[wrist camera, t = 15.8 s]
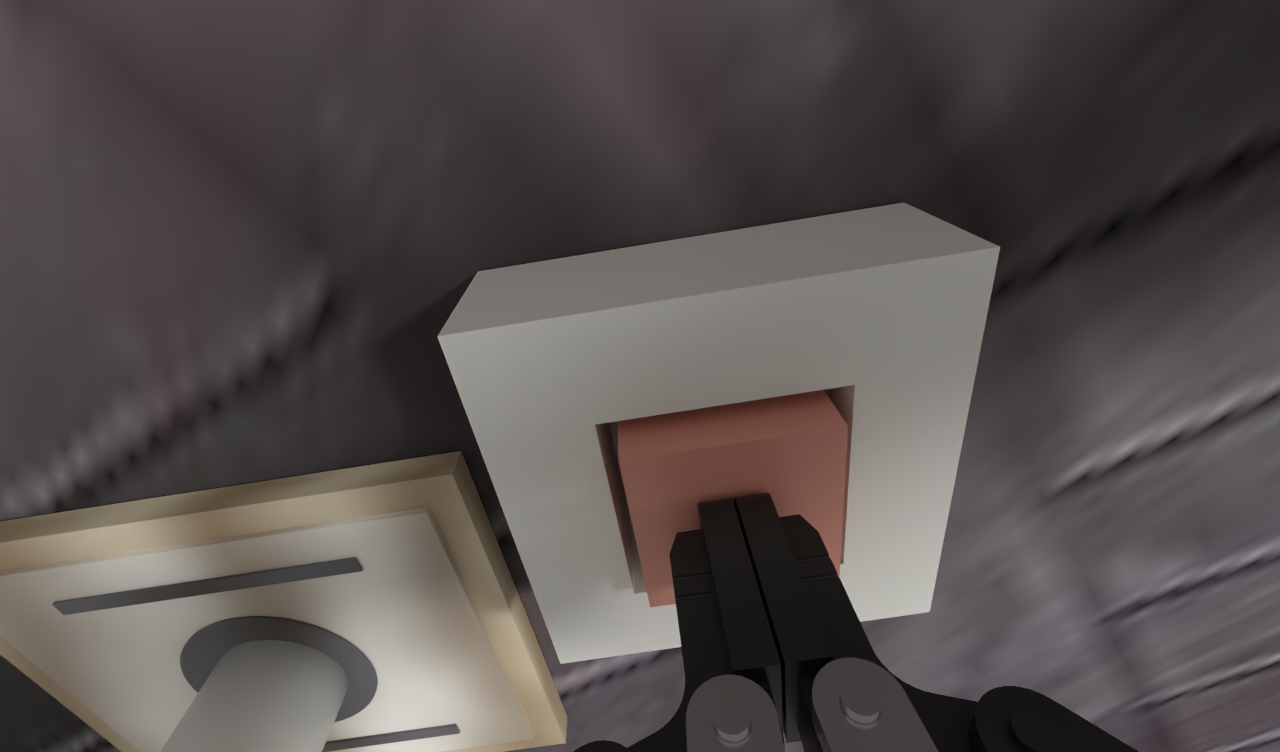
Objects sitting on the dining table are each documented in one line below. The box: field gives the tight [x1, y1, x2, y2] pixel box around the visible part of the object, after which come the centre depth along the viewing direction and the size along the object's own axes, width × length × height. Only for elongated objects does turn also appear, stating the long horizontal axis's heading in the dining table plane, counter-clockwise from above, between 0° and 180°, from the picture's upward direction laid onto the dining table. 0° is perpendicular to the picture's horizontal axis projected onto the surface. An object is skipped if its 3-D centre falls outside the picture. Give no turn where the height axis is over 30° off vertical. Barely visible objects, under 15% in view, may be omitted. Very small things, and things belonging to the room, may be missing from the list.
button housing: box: [437, 203, 1000, 664], centre depth 14 cm, size 10×10×4 cm
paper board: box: [0, 451, 567, 752], centre depth 18 cm, size 16×14×1 cm
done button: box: [617, 390, 848, 607], centre depth 13 cm, size 4×4×3 cm
